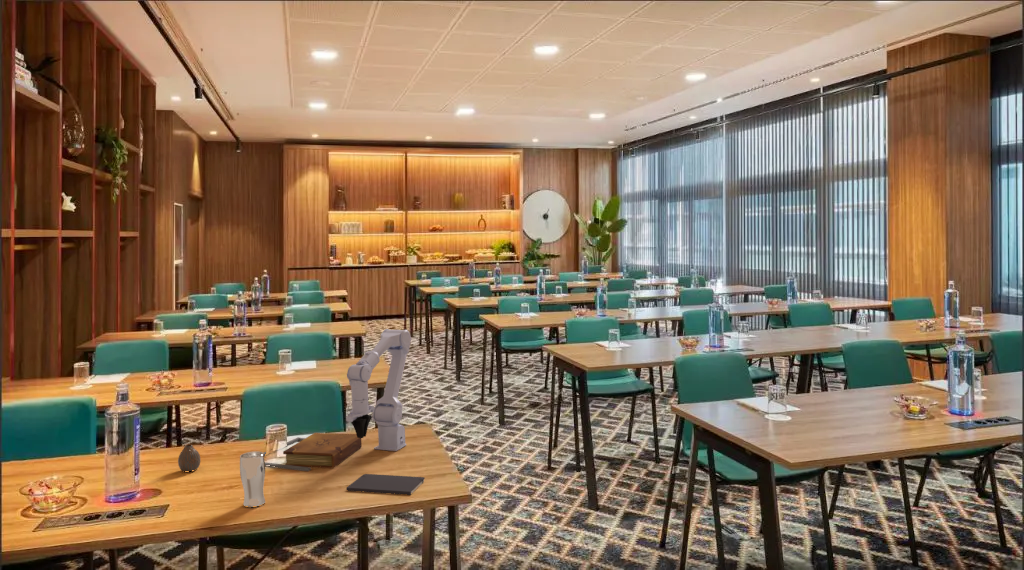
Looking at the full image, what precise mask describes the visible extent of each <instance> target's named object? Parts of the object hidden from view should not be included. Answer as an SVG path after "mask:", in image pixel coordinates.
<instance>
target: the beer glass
mask: <svg viewBox="0 0 1024 570" xmlns="http://www.w3.org/2000/svg"><path fill="white" fill-rule="evenodd" d="M265 462H266V461H265V456H264V452H263V451H257V450H256V451H255V450H254V451H248V452H244V453H242V454H240V456H239V473H240V474H239V475H240V480H241V481H240V482H241V483H242V484H241V485H242V487H243V488H242V489H243V493H244V497H243V498H244V499H243V505H244V506H248V507H253V506H259V505H262V504H264V503H265V504H266V499H265V498H266V497H265V496H264V485H265V477H266V466H265ZM265 504H264V505H265ZM244 506H243V507H244ZM262 506H263V505H262Z"/></svg>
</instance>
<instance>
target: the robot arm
mask: <svg viewBox="0 0 1024 570" xmlns="http://www.w3.org/2000/svg"><path fill="white" fill-rule="evenodd" d="M411 342H412V337H411V333H410V331H409V330H408V329H389V328H386V329H383V331H382V332H381V334H380V339H379V340H378V342H377V343H376V345H375V346H374V348H372V350H368V351H365V352H364V354H363V356H361V357H360V359H359V360H358V361H356V364H351V365H350V366H349V367H348V369H347V373H346V377H347V379H348V381H349V382H348V383H349V386H350V392H351V410H349V414H348V415H347V416H346V422H347V423H351V424H352V427H353V428H354V431H355V434H356V435H357V438H361V439H364V437H365V438H366V436H367V432H368V428H369V424H370V422H371V420H372V419H373V421H374V422H375V424H376V425H377V435H378V437H377V439H378V445H376V446H374V447H373V449H374V450H381V451H390V452H391V451H392V452H397V451H399V450H401V449H402V448H404V447H406V446H407V443H406V429H405V426H404V424H400V422H401V420H402V417H403V404H402V402H401V401H400V400H399V399H398V397H399V393H400V388H401V383H402V380H403V375H404V369H405V365H406V361H407V356H408V354H409V351H410V346H411ZM386 351H387V352H388V353H390V354H391V360H390V365H389V370H388V374H387V378H386V383H385V388H384V391H383V396H382V397H380V398H379V399H377V401H376V403H375V406H372V405H369V386H368V385H369V384H368V383H369V380H370V379H371V376H372V373H373V370H374V369H375V368H376V366H377V365H378V364H379V363H380V360H381V359H380V357H381V356H382V355H383V354H384V353H385V352H386ZM370 413H372V414H370Z"/></svg>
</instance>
